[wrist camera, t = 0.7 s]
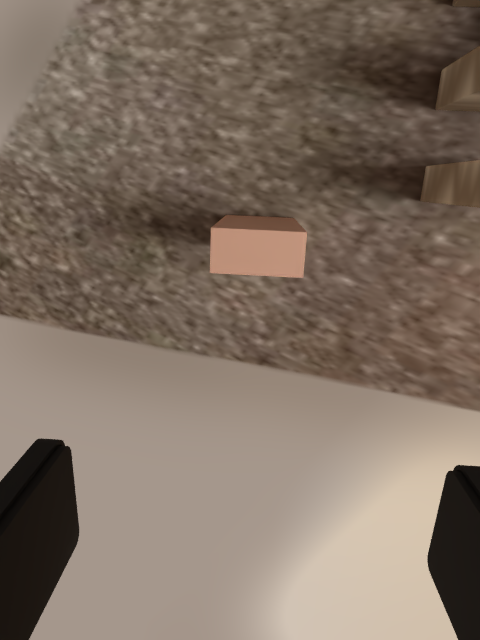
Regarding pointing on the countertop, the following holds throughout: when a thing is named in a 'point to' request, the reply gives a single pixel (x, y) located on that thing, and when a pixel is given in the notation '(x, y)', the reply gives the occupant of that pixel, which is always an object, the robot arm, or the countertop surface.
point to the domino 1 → (258, 246)
